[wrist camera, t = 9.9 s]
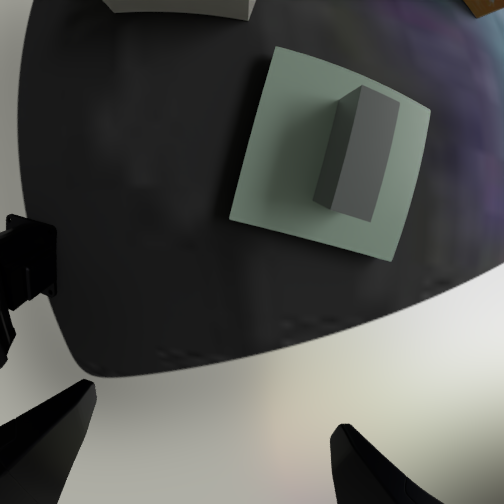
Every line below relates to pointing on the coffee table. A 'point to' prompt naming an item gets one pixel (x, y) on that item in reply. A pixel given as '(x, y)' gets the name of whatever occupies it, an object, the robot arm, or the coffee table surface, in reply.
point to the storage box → (186, 7)
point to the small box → (484, 6)
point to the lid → (331, 157)
